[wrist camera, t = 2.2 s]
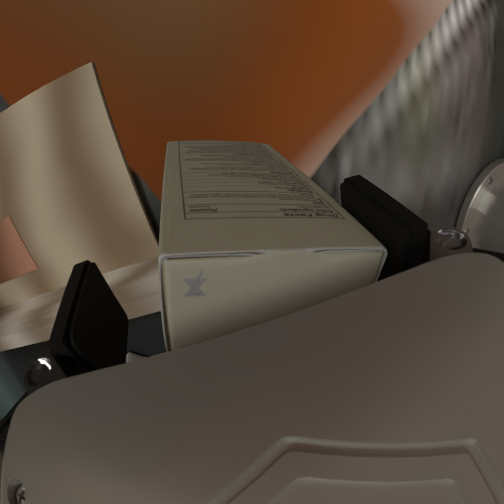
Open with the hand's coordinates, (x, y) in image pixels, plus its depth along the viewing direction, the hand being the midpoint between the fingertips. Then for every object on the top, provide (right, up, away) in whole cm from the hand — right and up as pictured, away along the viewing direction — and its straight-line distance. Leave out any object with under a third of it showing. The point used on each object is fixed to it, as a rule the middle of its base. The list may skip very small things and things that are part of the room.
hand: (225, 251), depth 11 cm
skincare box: (-1, +5, +8) cm, 9 cm away
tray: (-15, +2, +6) cm, 16 cm away
